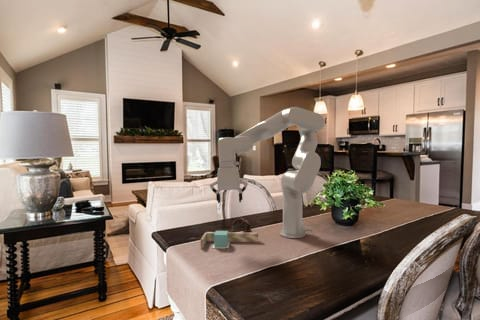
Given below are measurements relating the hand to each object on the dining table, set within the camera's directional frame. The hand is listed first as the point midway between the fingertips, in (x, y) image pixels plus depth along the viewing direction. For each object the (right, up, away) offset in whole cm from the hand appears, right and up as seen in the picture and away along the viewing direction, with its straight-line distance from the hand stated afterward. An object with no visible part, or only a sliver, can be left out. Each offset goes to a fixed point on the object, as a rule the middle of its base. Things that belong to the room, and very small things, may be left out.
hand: (229, 202), depth 125 cm
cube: (-4, -19, -2) cm, 19 cm away
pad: (-4, -19, -2) cm, 20 cm away
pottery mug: (+6, -18, +17) cm, 25 cm away
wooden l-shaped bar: (0, -19, -2) cm, 19 cm away
